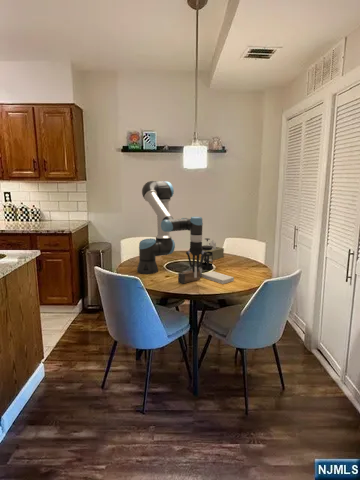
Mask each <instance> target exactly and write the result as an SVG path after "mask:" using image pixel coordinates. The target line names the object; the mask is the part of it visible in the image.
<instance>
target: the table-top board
mask: <svg viewBox="0 0 360 480" xmlns="http://www.w3.org/2000/svg"><path fill="white" fill-rule="evenodd" d="M201 278H203V279H206V280H209V281H213V282H215V283H219V284H221V285H224V284H228V283H231V282H234V280H235V277H234V276H230V275H226V274H224V273H220V272H217V271H209V272H204V273H202V277H201Z"/></svg>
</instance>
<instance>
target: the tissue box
mask: <svg viewBox="0 0 360 480" xmlns="http://www.w3.org/2000/svg"><path fill="white" fill-rule="evenodd" d="M216 243H217V242H216V241H214V239H212V240H210V242H208V246H213V248H212V250H203V251H205V252H212V253H213V261H214V260H217V259H221V258H224V254H225V252H224V251H225V249H224V247H220V246H219V247H218V246H217V244H216ZM207 254H209V253H207ZM209 259H211V260H212V256H209Z"/></svg>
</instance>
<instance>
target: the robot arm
mask: <svg viewBox="0 0 360 480" xmlns="http://www.w3.org/2000/svg"><path fill="white" fill-rule="evenodd" d="M141 194H142V198H143V199H144V200H145V201H146V202H147V203H148V204H149V205H150V208H152V210H153V211H154V213H155V214H156V219H157V220H156V221H157V222H156V223H157V226H156V227H157V236H155V238H145V239H142V240H140V241H139V246H138V251H139V252H138V253H139V254H138V256H139V258H138V259H139V261H138V264H137V268H136V272H137V274H143V275H151V274H153V275H154V274H156V273H158V272H159V268H158V264H157V262H156V257H160V256H168V255H172V254H173V253H174V251H175V250H176V249H175V248H176V244H175V240H174V239H172V236H171V235H170V232H176V231H177V232H179V231H189V233H190V234H189V237H190V238H189V240H190V242H189V250H188V251H185V254H186V255H187V258H188V263H189V264H188V265H189V266H190V267H191V268H192V269H193V272H194V278H197V272H199V268H200V267H201V266H202V263H204V262H203V259H204V256H205V254H206V252H205V251H203V249H202V246H203V225H204V223H203V217H202V216H191V217H190V218H187V217H182V218H176V219H174V217H173V216H172V215H171V212H170V209H169V207H170V206H169V205H170V204H169V202H170V201H171V198H172V197H173V196H174V187H173V184H172V183H171V182H170V181H165V180H164V181H162V180H155V181H154V180H151V181H147V182H145V183H144V185H143V186H142V189H141ZM201 252H202V257H201ZM190 254H191V256H192V260H191V256H190Z"/></svg>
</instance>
